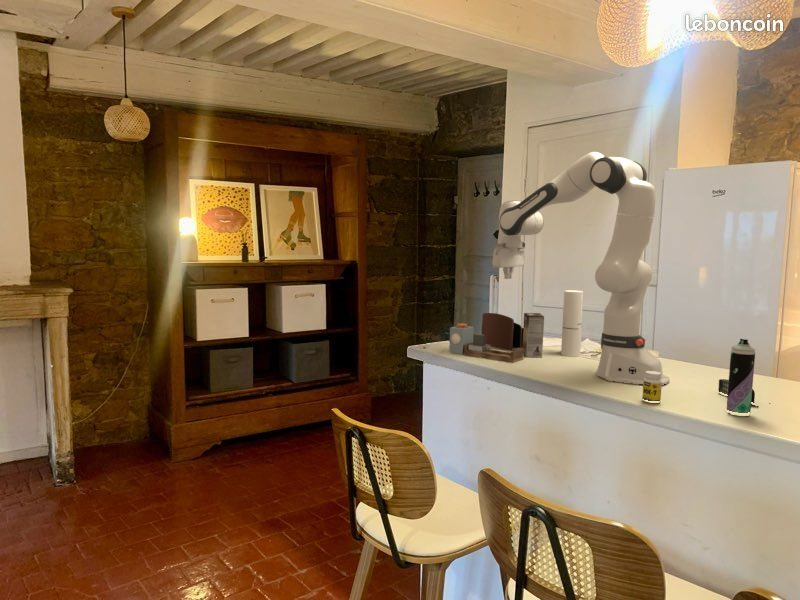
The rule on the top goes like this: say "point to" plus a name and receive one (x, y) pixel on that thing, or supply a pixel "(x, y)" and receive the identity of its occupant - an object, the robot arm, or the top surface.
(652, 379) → the supplement bottle
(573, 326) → the cylindrical container
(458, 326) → the plunger
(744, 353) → the spray can
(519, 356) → the rail bed
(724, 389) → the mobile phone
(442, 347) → the top surface
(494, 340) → the letter holder
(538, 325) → the coffee box
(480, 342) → the carriage
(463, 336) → the grey block
